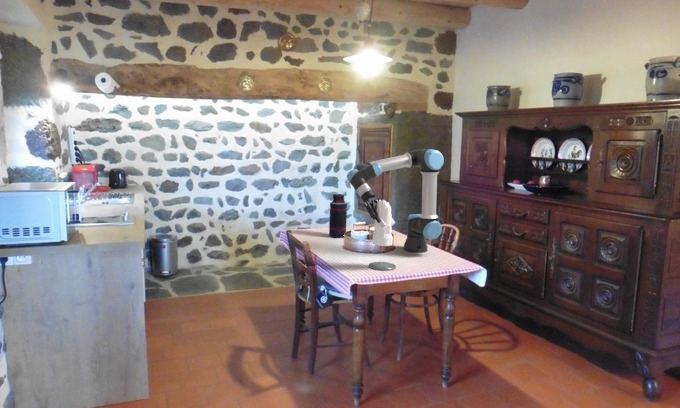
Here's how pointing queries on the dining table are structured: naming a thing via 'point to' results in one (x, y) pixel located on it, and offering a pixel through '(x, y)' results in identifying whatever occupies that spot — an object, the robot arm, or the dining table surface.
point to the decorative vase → (384, 234)
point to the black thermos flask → (337, 216)
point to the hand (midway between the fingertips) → (388, 225)
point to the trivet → (382, 266)
